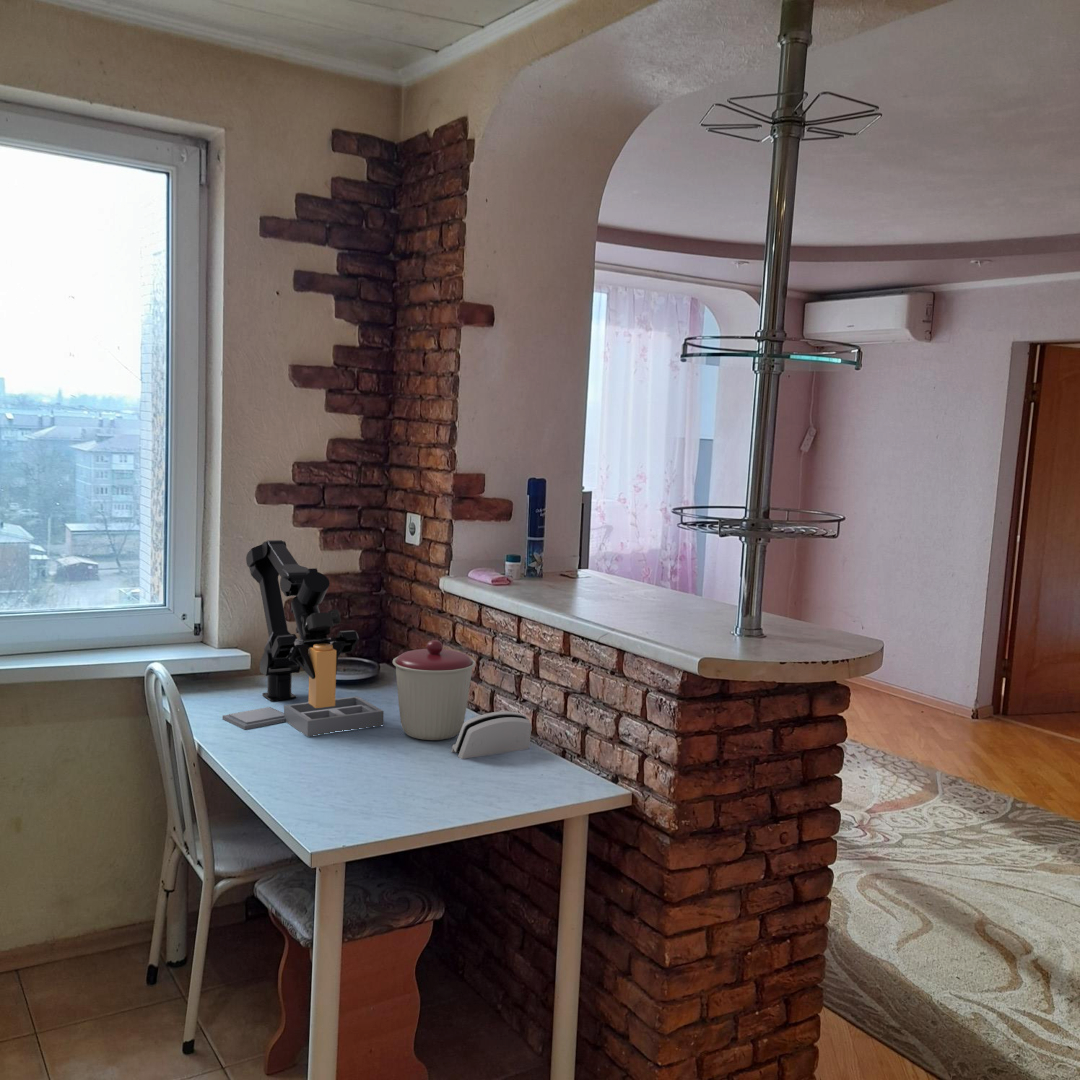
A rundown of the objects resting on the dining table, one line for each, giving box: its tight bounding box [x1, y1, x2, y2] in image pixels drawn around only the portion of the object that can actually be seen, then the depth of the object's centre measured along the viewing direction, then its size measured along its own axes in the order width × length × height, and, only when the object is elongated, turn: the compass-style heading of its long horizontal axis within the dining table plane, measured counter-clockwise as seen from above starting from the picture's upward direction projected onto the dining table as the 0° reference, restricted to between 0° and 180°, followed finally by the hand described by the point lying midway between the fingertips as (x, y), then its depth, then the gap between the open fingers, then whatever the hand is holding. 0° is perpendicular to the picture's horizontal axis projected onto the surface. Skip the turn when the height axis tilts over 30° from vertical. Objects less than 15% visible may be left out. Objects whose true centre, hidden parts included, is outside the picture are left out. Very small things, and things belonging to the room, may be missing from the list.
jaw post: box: [307, 643, 337, 708], centre depth 227 cm, size 4×4×13 cm
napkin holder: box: [450, 710, 533, 760], centre depth 217 cm, size 17×5×10 cm, turn 122°
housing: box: [283, 695, 385, 737], centre depth 233 cm, size 14×18×4 cm
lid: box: [222, 706, 287, 730], centre depth 233 cm, size 10×12×1 cm
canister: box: [392, 639, 476, 741], centre depth 227 cm, size 18×18×21 cm
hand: (324, 676), depth 226 cm, fingers closed on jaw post, 4 cm apart
